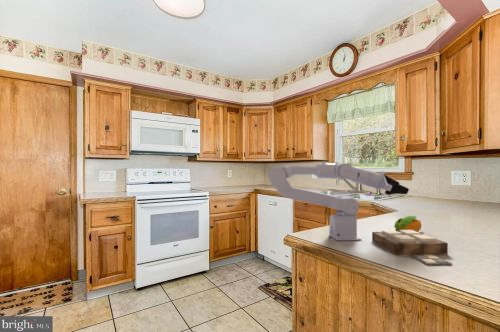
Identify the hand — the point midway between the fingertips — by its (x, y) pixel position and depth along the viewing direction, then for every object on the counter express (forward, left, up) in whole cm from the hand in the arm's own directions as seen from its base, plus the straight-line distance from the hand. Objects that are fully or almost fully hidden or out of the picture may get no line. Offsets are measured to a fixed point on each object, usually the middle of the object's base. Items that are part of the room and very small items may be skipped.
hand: (402, 188), depth 94 cm
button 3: (-2, -7, -16) cm, 18 cm away
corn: (+6, +5, -19) cm, 21 cm away
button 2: (-9, -14, -16) cm, 23 cm away
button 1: (-9, -7, -16) cm, 20 cm away
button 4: (-2, -14, -16) cm, 21 cm away
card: (-7, -22, -19) cm, 30 cm away
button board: (-6, -10, -19) cm, 22 cm away
